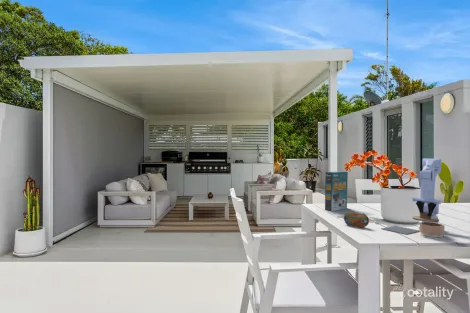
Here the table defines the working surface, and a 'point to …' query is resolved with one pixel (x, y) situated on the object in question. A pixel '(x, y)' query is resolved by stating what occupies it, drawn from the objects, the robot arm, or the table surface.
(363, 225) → the tin
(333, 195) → the cake mix box
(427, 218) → the lid
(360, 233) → the table surface
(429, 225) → the bowl
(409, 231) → the mat
